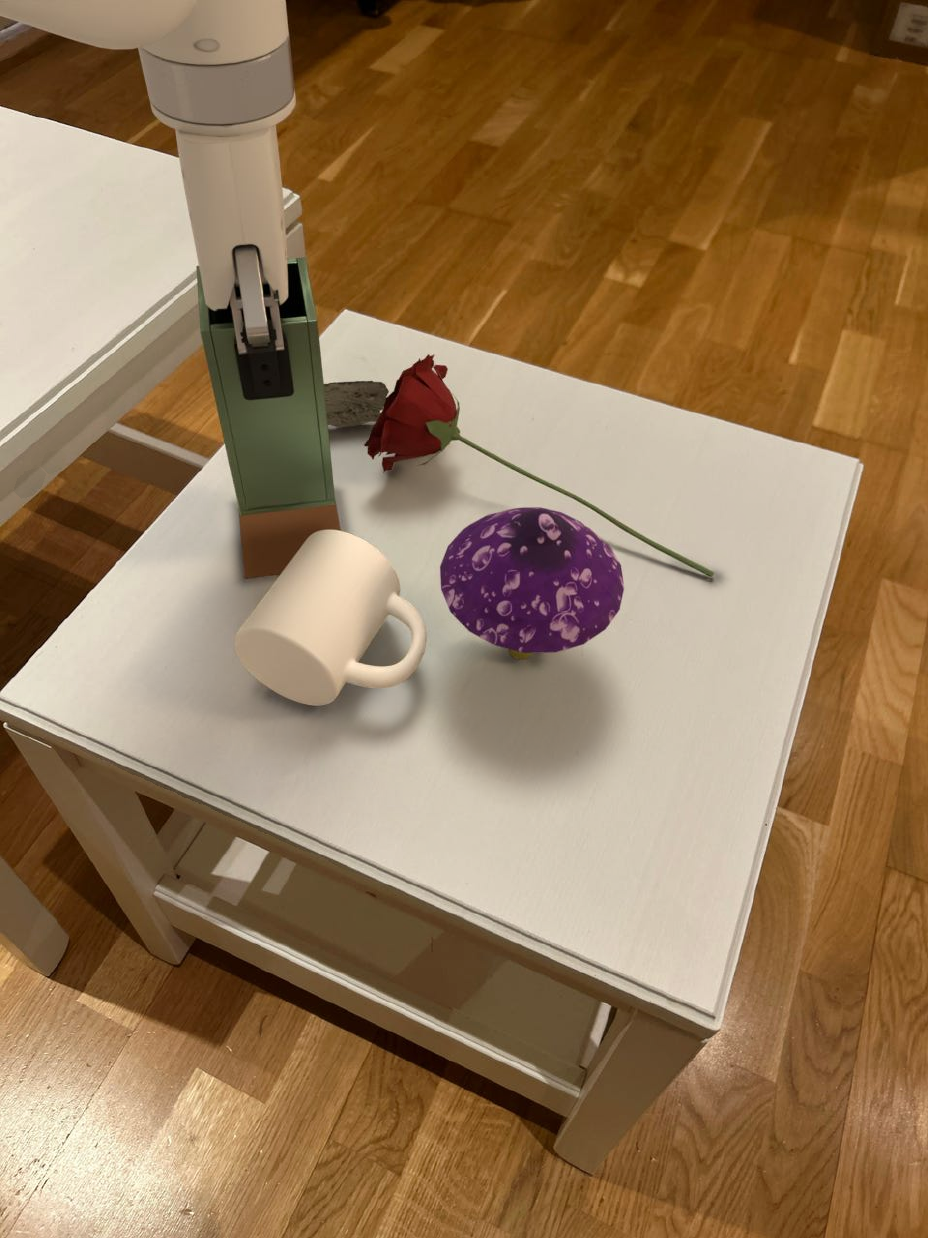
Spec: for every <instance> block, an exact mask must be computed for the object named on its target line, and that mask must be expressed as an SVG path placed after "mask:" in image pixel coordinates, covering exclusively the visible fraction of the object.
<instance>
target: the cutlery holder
mask: <svg viewBox="0 0 928 1238" xmlns="http://www.w3.org/2000/svg"><path fill="white" fill-rule="evenodd" d="M195 269H196V284H197V285H196V286H197V301H198V318H199V319H198V320H199V332H200V337H201V341H202V346H203V350H204V351H203V352H204V355H205V361H206V365H207V369H208V374H209V378H210V383H211V388H212V391H213V397H214V401H215V406H216V410H217V415H218V419H219V424H220V429H221V433H222V439H223V442H224V447H225V451H226V457H227V461H228V465H229V470H230V474H231V477H232V478H231V479H232V484H233V489H234V493H235V498H236V502H237V506H238V507H239V508H238V507H237V508H238V512H239V511H240V515H241V516H243V515H251V514H260V513H268V512H277V511H285V510H294V509H302V508H310V507H319V506H327V505H335V501H336V493H335V483H334V475H333V474H334V472H333V463H332V462H333V461H332V454H331V444H330V433H329V425H328V422H327V412H326V402H325V392H324V384H325V383H324V373H323V363H322V354H321V353H322V352H321V342H320V333H319V332H320V331H319V324H318V317H317V316H318V315H317V311H316V306H315V300H314V295H313V290H312V284H311V278H310V273H309V267H308V262H307V258H306V256H302V257H287V269H288V298H287V299H286V301H285V302H284V303H283V304H281V305H280V303H278V307H279V314H280V321H281V328H282V335H283V339H287V342H288V349H289V357H290V365H291V372H292V380H293V387H294V393H293V395H291V396H289V397H279V398H269V399H259V400H246V399H245V398H244V396H243V392H242V386H241V381H240V376H239V370H238V365H237V360H236V354H235V349H234V344H236V343H237V340H236V334H235V328H234V321H233V315H232V309H231V306H230V301H229V304H228V307H227V309H217V311H213V310H212V309H210V308H209V307H208V306H207V305H206V303H205V297H204V291H203V285H202V280H201V274H200V269H199V265H196V267H195ZM234 284H235V283H234ZM235 290H236V297H241V292H240V286H239V287H236V286H235ZM262 290H263V295H267V294H271V293H270V286H269V283H268V284H263V285H262ZM265 311H266V318H267V324H271V325H272V319H271V312H270V307H265ZM241 312H242V318H243V325H244V326H245V320H244V313H243V309H241Z"/></svg>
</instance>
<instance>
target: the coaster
mask: <svg viewBox="0 0 928 1238" xmlns="http://www.w3.org/2000/svg"><path fill="white" fill-rule="evenodd" d="M237 508H238V509H239V507H237ZM238 518H239V529H240V530H239V531H240V541H241V552H242V553H241V554H242V555H241V556H242V564H243V577H244V580H248V579H254V578H263V577H269V576H270V577H271V576H278V575H279V576H280V575H281V573H282V572H283V571H284V569H285V568H286V567H287V565H288V564H289V562H290V561H291V560H292V558H293V557H294V556H295V554H296V553H297V552H298V550H299V549H300V548H301V546H302V545H303V544H304V542H305V541H306V540H307V538H308V537H309V536H310V535H312V534H313V533H315V532H317V531H321V530H338V531H342V530H341V524H340V518H339V513H338V506H337V502H336V500H335V505H327V506H319V507H310V508H302V509H294V510H285V511H277V512H268V513H260V514H251V515H243V516H241V515H240V511H239V510H238Z"/></svg>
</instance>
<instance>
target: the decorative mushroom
mask: <svg viewBox="0 0 928 1238" xmlns="http://www.w3.org/2000/svg"><path fill="white" fill-rule="evenodd" d="M439 578H440V579H439V580H440V590H441V593H442V596H443V598H444V600H445V602H446V605H447V607H448V610H449V613H451V614H452V616H454V618H455V619H456V620H457V621H459V623H460V624H461V625H462V626H463V627H464V628H465V629H466V630H467V631H468V632H470V633H471V634H473V635H475V636H477V637H479V638H480V639H482V640H484V641H486V642H487V643H489V644H491V645H493V646H495V647H498V648H499V647H500V648H503V649H506V650H507V651H508V653H509V654H510V656H511V657H512V658H514V659H517V660H526V659H528V658H530V657H532V656H533V654H537V653H539V654H543V653H547V654H550V653H559V652H562V651H565V650H569V649H572V648H575V647H579V646H583V645H585V644H587V642H590V641H591V640H592V639H594V638H596V637H597V636H598V635H600V634H601V633H603V632H604V631H605V630H607V628H608V627H609V626H610V624H611V623H612V621H613V620H614V619H615V617H616V615H617V614H618V613H619V612H620V609H621V605H622V600H623V595H624V591H625V583H624V577H623V569H622V563H620V561H619V559H618V558H617V556H616V554H615V552H614V551H613V550H612V548H611V546H610V545H609V544H608V542H606V541H605V540H604V539H603V538H602V537H600V536H599V535H598V534H597V533H596V532H594V531H593V530H592V529H591V528H590V527H589V526H587V525H585V524H584V523H583V522H582V521H581V520H578V519H576V518H574V517H572V516H570V515H568V514H566V513H564V512H562V511H559V510H553V509H549V508H545V507H539V506H537V507H533V506H532V507H515V508H509V509H506V510H502V511H497V512H493V513H489V514H487V515H484V516H483V517H481V518H479V519H477V520H475V521H474V522H472V523H469V525H467V526H466V527H464V528H463V529H462V530H461V531H460V532H459V533H458V534H457V536H455V538H454V539H453V540H451V542H450V543H449V544H448V545H447V547H446V550H445V552H444V555H443V558H442V560H441V562H440V565H439Z"/></svg>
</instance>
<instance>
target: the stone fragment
mask: <svg viewBox="0 0 928 1238" xmlns="http://www.w3.org/2000/svg"><path fill="white" fill-rule="evenodd" d="M324 392H325V402H326V412H327V422H328V426H332V427H336V428H344V427H357V426H363V425H365V424H367V423H369V422H373V423H376V420H377V419H378V417H379V415H380V414H381V412H380V411H382V410H383V407H384V404H385V401H386V398H387V397H388V395H389V394H390V391H389V389H388V388H387V385H386V383H384V382H382V381H373V380H356V381H355V380H354V381H338V382H336V381H335V382H329V383H324Z"/></svg>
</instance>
